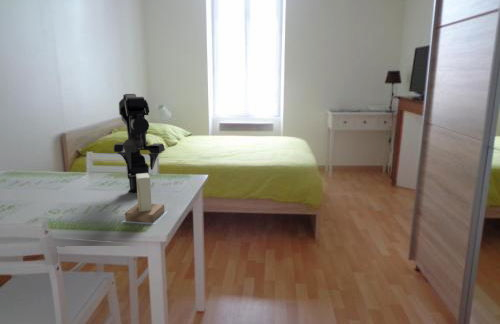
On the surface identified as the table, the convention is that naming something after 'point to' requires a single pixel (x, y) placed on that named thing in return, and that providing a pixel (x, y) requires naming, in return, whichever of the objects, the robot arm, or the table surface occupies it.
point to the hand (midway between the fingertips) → (140, 169)
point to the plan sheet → (147, 223)
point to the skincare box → (143, 192)
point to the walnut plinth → (144, 214)
